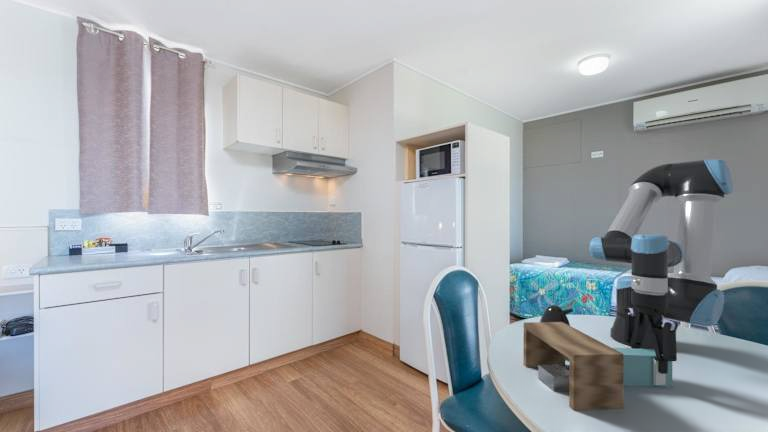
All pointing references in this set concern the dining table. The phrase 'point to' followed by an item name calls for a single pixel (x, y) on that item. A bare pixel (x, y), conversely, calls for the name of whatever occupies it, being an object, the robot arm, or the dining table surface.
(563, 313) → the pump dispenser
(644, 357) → the teal batten
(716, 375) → the dining table surface
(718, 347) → the dining table surface
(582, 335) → the walnut shelf
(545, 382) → the low grey plinth
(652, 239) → the robot arm
